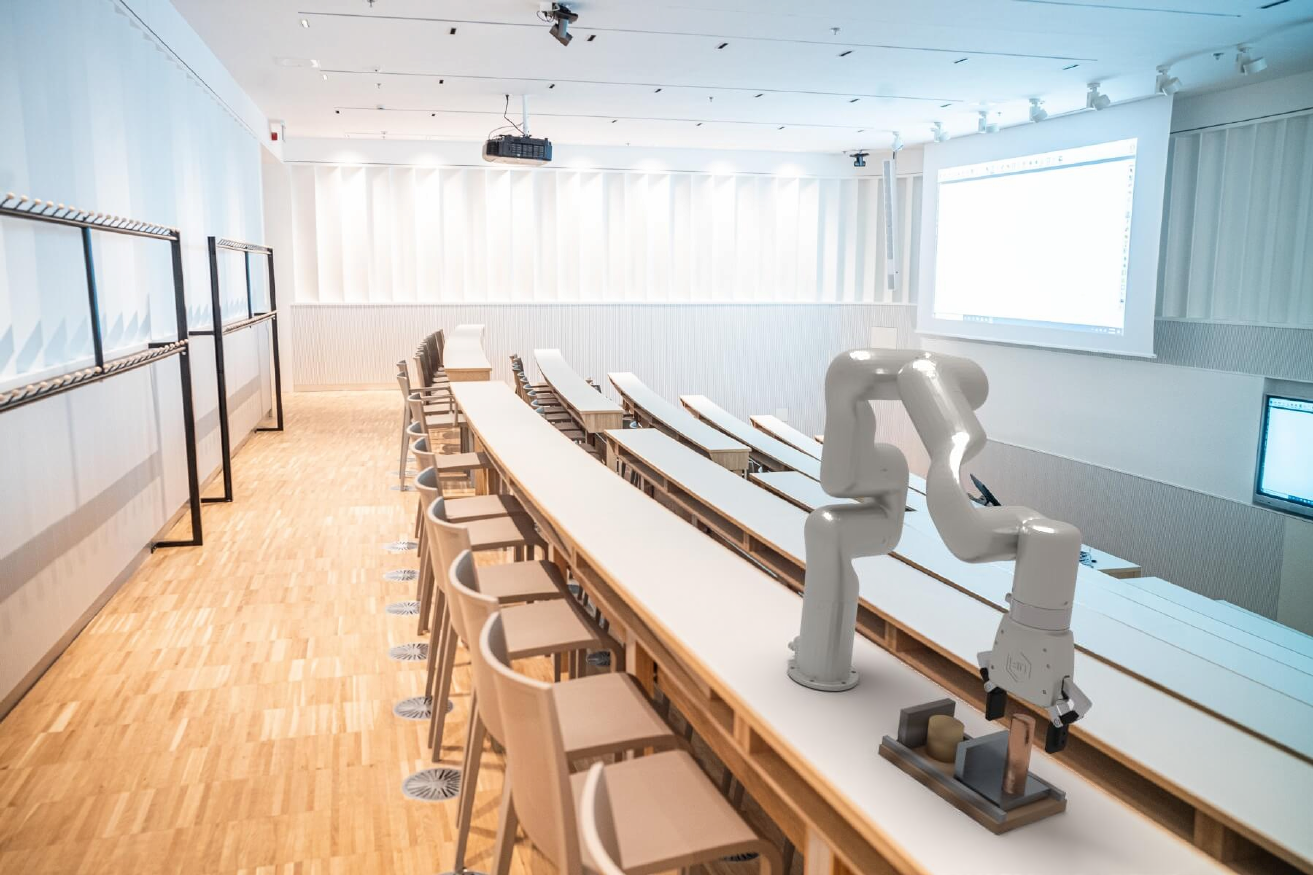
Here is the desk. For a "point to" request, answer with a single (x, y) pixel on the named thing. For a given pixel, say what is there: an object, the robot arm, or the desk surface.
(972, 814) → the press base
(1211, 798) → the desk surface
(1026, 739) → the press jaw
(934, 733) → the tan round peg
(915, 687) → the desk surface
